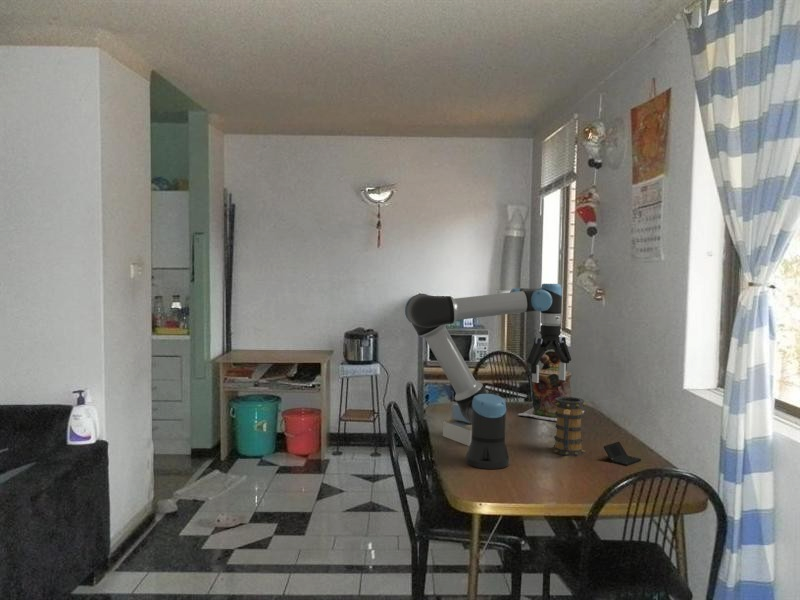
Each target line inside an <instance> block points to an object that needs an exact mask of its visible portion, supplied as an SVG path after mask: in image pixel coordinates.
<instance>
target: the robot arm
mask: <svg viewBox="0 0 800 600" xmlns="http://www.w3.org/2000/svg"><path fill="white" fill-rule="evenodd" d="M540 286H541V287H540V288H529V287H527V288H525V287H524V288H522V287H521V288H520V287H517V288H512V289H511V290H510V292H504V293H502V292H501V293H493V294H485V295H477V296H476V295H475V296H464V297H457V298H455V297H453V296H451V295H449V296H436V295H435V296H434V295H429V294H427V293H418V294H415V295H413V296H411V297H409V299H408V300H407V301H406V304H405V307H404V315H405V318H406V320H407V321H408V322H409V323H410V324H411V325H412V327H413V328H414V330H415V332H416V333H417V335H418V337H420V338H424V339H425V341H426V343H427V344H428V347H429V348H430V350H431V351H432V353H433V355H434V356H435V359H436V360H437V362H438V363H439V365H440V368H441V369H442V371H443V372H444V374H445V376H446V378H447V380H448V382H449V384H450V385H451V387H452V389H453V390H454V392H455V396H454V400H455V402H456V403H457V404H458V405H459V407H460V411H461V414H462V415H463V417H464V418H465V419H466V420H467V421H469V422H470V423H471V424H472V440H471V443H470V446H468V450H467V453H466V456H465V462H466V464H467V465H469V466H470V467H474V468H478V469H483V470H484V469H486V470H498V469H504V468H507V467H509V466H510V456H509V452H508V448H507V446H506V415H507V414H506V413H507V405H506V400H505V399H504V397H502V396H500V395H496V394H494V393H488V392H487V389H486V388H485V385H484V384H483V383H482V382H478V381H476V379H475V377H474V376H473V373H472V372H471V370H470V367H469V366H468V364H467V363H466V361H465V359H464V357H463V355H462V354H461V352H460V350H459V348H458V346H457V345H456V343H455V342H454V340H453V338H452V336H451V334H450V333H449V330H448V329H447V327H446V326H447V325H453V324H455V323H456V321H460V320H461V321H462V320H469V319H477V318H478V319H479V318H486V317H494V316H502V315H503V316H504V315H511V314H513V315H514V314H520V313H521V314H522V313H528V312H529V313H530V312H538V313H539V312H540V320H539V321H540V324H541V325H540V326H539V327H540V328H539V333H540V336H541V337H540V338H538V337H534V340H533V345H532V347H531V350H530V352H529V354H528V358H527V360H526V363H528V364H529V365H531V366H530V367H531V369H530V370H531V371H530V373H531V382H532V383H533V382H536V383H539V369H540V365H539V364H538V363H540V362H541V361H540V359H541V358H542V356H543V355H545V353H546V352H548V351H555V352H556V354H557V356H558V357H559V359H560V360H561V362H559V379H560V380H565V376H566V372H567V369H568V368H567V365H568V364H569V363H570V362H571V361H572V357H571V354H570V351H569V348H568V345H567V341H566V340H567V339H566V337H564V336H561V333H562V330H561V329H562V325H561V324H562V304H563V303H562V302H563V301H562V300H563V299H562V298H563V293H562V292H563V290H562V285H561V284H560V283H542V284H541V285H540Z"/></svg>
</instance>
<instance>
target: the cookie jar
mask: <svg viewBox="0 0 800 600" xmlns="http://www.w3.org/2000/svg"><path fill="white" fill-rule="evenodd" d="M539 362H540V363H541V364H542V365H543V366H542V367H539V383H536V382H532V385H533V386H532V388H533V391H532V396H531V398H532V408H530V409H527V410H526V411H524V412H521V413H518V414H517V416H518V417H520V416H522V417H530V418H535V419H540V420H546V421H552V422H557V416H556V414H555V412H556V406H555V403H554V402H552V401H554V400H555V398H557V397H572V390H571V378H572V375H573V374H572V372H570V371H566V376H565V380H560V379H559V362H561V360H560V359H559V357H558V356H557V354H556V352H555V351H554V350H547V351H545V353H544V355H543V356H542V358H541V359H540V361H539ZM584 413H585V410H582V414H583V415H584Z"/></svg>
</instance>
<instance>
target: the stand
mask: <svg viewBox="0 0 800 600" xmlns="http://www.w3.org/2000/svg"><path fill="white" fill-rule="evenodd" d="M442 437H444V438H447V439H449V440H452V441H455V442H458V443H461V445H465V446H468V447H469V446H470V443H471V440H472V424H471V423H469V422H465V421H460V420H455V419H452V417H446V418H444V421H443V422H442Z"/></svg>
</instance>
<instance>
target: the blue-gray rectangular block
mask: <svg viewBox="0 0 800 600" xmlns="http://www.w3.org/2000/svg"><path fill="white" fill-rule="evenodd" d="M451 418H452V419H455V420H460V421H465V422H469V421H467V420H466V419H465V418H464V417H463V415H462V414H461V411H460V407H459V405H458V404H457V402H456V403H452V405H451ZM469 423H470V422H469Z"/></svg>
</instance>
